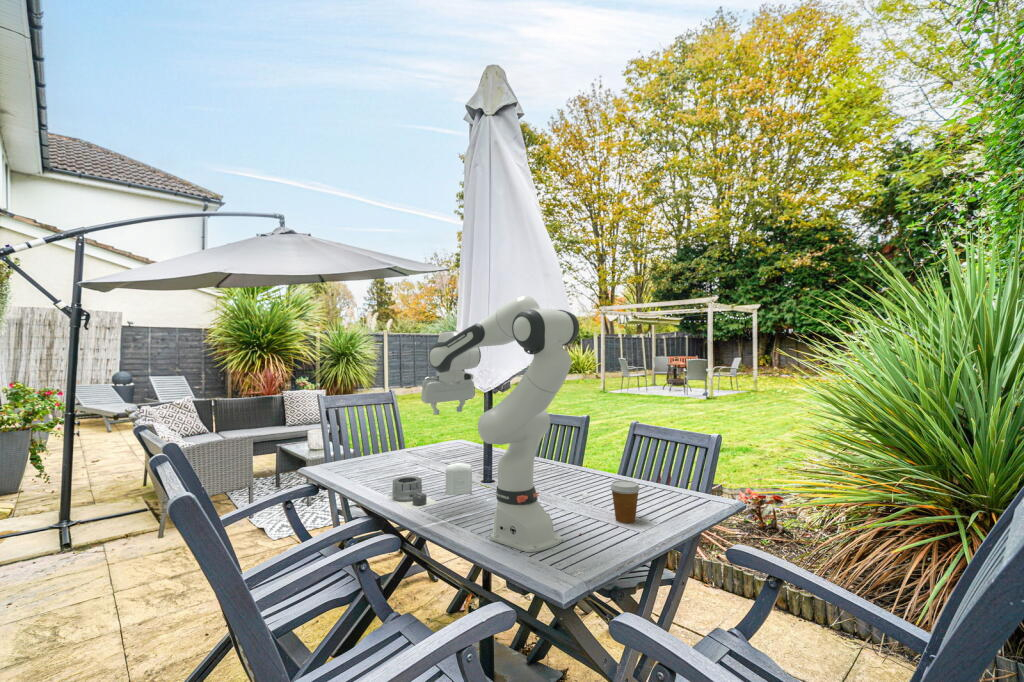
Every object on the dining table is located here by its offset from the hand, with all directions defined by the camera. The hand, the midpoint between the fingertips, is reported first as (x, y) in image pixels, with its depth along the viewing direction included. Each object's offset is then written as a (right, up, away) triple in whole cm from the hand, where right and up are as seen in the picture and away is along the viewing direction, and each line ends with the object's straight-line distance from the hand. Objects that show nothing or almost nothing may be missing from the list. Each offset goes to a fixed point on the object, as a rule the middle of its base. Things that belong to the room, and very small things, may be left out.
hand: (448, 413), depth 175 cm
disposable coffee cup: (+61, -33, -15) cm, 71 cm away
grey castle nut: (-16, -33, +8) cm, 38 cm away
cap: (-10, -33, 0) cm, 35 cm away
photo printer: (+2, -34, +14) cm, 37 cm away
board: (-14, -34, +5) cm, 37 cm away
